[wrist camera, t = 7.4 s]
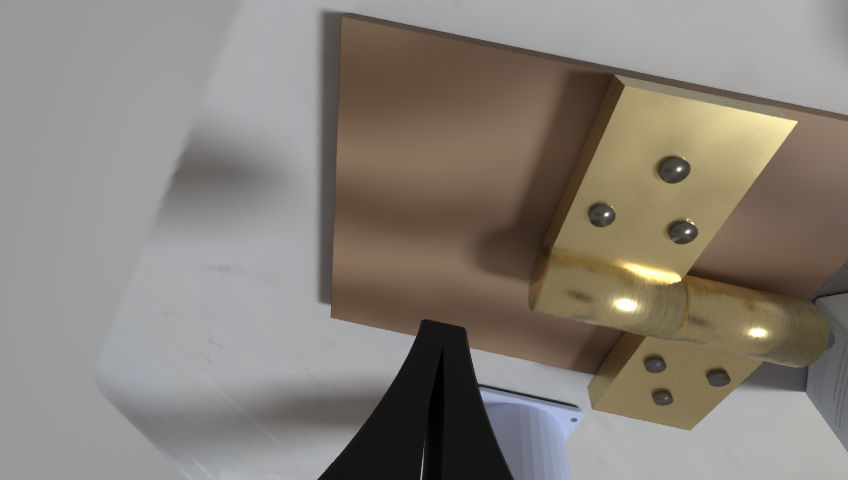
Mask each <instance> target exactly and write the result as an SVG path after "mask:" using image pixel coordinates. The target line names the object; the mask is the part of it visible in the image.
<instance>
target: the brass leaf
mask: <svg viewBox="0 0 848 480" xmlns="http://www.w3.org/2000/svg"><path fill="white" fill-rule="evenodd" d="M797 122H798V121H796V120H794V119H793V118H791V117H789V116H787V115H785V114H784V113H782V112H780V111H778V110H777V109H775V108H773V107H770V106H765V105H760V104H756V103H751V102H746V101H741V100H736V99H731V98H727V97H722V96H717V95H712V94H707V93H702V92H697V91H693V90H688V89H683V88H678V87H673V86H668V85H664V84H659V83H654V82H649V81H644V80H639V79H635V78H630V77H625V76H620V75H615V74H614V75H613V77H612V80H611V82H610V84H609V87H608V89H607V92H606V94H605V96H604V99H603V101H602V103H601V106H600V108H599V110H598V113H597V115H596V117H595V120H594V122H593V125H592V127H591V129H590V132H589V134H588V136H587V139H586V141H585V143H584V146H583V148H582V150H581V153H580V155H579V158H578V160H577V162H576V165H575V167H574V169H573V172H572V174H571V176H570V179H569V181H568V183H567V186H566V188H565V191H564V193H563V195H562V198H561V200H560V202H559V205H558V207H557V209H556V212H555V214H554V216H553V219H552V221H551V223H550V226H549V228H548V231H547V233H546V235H545V238H544V240H543V247H542V248H541V249H540V251H539V253H538V254H537V257H536V259H535V262H534V264H533V268H532V272H531V276H530V281H529V290H528V302H529V307H530V309H531V311H533V312H537V313H542V314H547V315H551V316H556V317H561V318H565V319H570V320H575V321H579V322H584V323H589V324H593V325H598V326H603V327H607V328H612V329H617V330H621V331H626V332H631V333H635V334H640V335H645V336H649V337H654V338H659V339H664V338H667V337H669V336H671V335H672V334H673V333H674V332H675V331H676V330H677V328H678V327H679V325H680V323H681V321H682V319H683V316H684V312H685V307H686V291H685V287H684V284H683V281H682V279H683V278H684V276H685V275H686V274H687V272H688V271H689V270H690V268H691V267H692V265H693V264H694V263H695V261H696V260H697V259H698V257H699V256H700V255H701V253H702V252H703V250H704V249H705V248H706V246H707V245H708V244H709V242H710V241H711V240H712V238H713V237H714V235H715V234H716V233H717V231H718V230H719V229H720V227H721V226H722V225H723V223H724V222H725V220H726V219H727V218H728V216H729V215H730V214H731V212H732V211H733V210H734V208H735V207H736V206H737V204H738V203H739V201H740V200H741V199H742V197H743V196H744V195H745V193H746V192H747V191H748V189H749V188H750V186H751V185H752V184H753V182H754V181H755V180H756V178H757V177H758V176H759V174H760V173H761V171H762V170H763V169H764V167H765V166H766V165H767V163H768V162H769V161H770V159H771V158H772V156H773V155H774V154H775V152H776V151H777V150H778V148H779V147H780V146H781V144H782V143H783V141H784V140H785V139H786V137H787V136H788V135H789V133H790V132H791V131H792V129H793V128H794V126H795V125H796V124H797Z"/></svg>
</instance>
